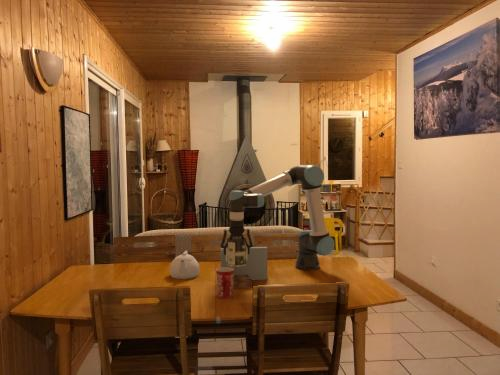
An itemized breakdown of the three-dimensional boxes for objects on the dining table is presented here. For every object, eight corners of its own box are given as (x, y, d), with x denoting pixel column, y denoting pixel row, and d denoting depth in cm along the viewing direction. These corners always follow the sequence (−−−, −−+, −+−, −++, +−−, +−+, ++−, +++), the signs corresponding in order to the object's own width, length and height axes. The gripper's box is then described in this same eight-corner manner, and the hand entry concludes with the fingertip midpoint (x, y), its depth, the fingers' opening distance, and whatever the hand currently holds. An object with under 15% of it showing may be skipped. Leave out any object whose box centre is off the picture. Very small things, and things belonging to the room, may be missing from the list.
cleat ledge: (248, 280, 242) (248, 271, 241) (251, 287, 228) (251, 278, 227) (223, 281, 240) (222, 272, 239) (225, 288, 226) (225, 279, 225)
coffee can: (247, 262, 237) (247, 237, 236) (243, 267, 227) (243, 240, 226) (229, 261, 239) (229, 236, 238) (224, 266, 229) (224, 240, 228)
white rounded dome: (207, 275, 252) (207, 252, 251) (182, 282, 238) (181, 257, 237) (187, 269, 264) (186, 247, 263) (162, 275, 251) (161, 252, 250)
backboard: (266, 278, 245) (266, 246, 244) (267, 279, 243) (267, 247, 242) (220, 280, 241) (220, 248, 240) (221, 281, 239) (221, 249, 238)
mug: (214, 293, 217) (214, 267, 216) (232, 292, 219) (232, 266, 218) (218, 302, 205) (217, 274, 204) (236, 300, 206) (236, 273, 206)
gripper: (256, 218, 237) (256, 258, 239) (215, 218, 234) (215, 259, 235) (258, 220, 230) (258, 261, 231) (216, 220, 226) (216, 262, 228)
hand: (236, 260), depth 233 cm, fingers closed on coffee can, 10 cm apart
